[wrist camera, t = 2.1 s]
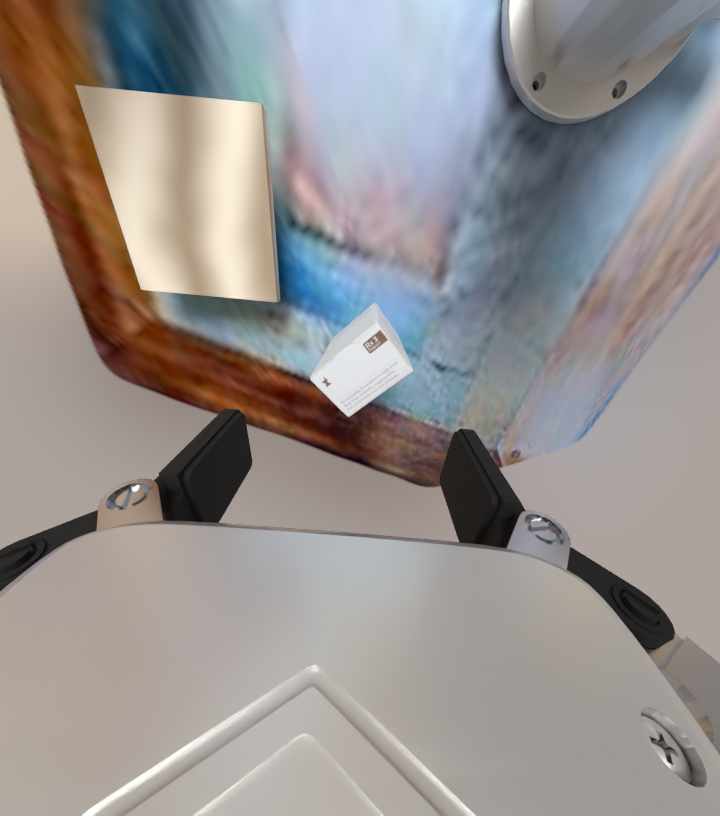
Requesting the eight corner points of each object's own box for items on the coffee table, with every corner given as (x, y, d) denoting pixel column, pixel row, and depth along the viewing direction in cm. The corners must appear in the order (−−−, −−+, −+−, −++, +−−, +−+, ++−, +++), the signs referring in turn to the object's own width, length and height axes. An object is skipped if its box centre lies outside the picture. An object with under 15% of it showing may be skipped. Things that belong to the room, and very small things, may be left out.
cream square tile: (280, 130, 20) (261, 103, 16) (289, 296, 26) (276, 302, 22) (127, 116, 20) (74, 84, 16) (172, 285, 26) (141, 289, 22)
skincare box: (356, 366, 29) (348, 424, 19) (330, 336, 28) (304, 381, 17) (400, 332, 27) (418, 376, 17) (374, 297, 26) (376, 322, 15)
